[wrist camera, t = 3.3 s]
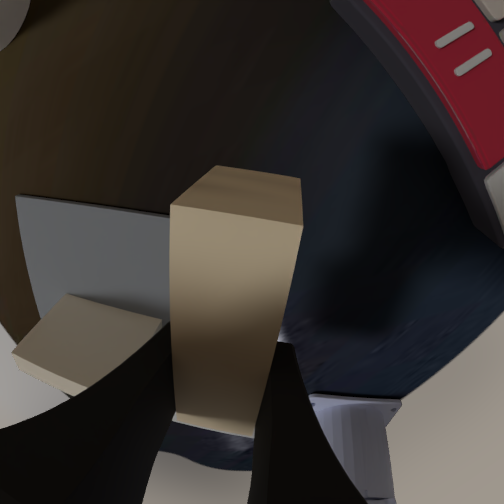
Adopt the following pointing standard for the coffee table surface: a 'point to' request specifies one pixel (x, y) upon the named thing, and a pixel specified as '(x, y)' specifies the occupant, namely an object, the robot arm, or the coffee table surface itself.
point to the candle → (11, 19)
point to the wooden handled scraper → (229, 292)
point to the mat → (96, 255)
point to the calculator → (448, 85)
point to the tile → (82, 343)
